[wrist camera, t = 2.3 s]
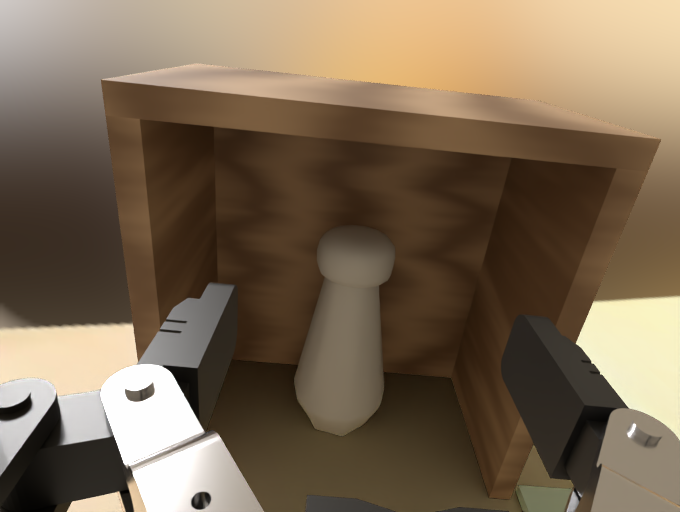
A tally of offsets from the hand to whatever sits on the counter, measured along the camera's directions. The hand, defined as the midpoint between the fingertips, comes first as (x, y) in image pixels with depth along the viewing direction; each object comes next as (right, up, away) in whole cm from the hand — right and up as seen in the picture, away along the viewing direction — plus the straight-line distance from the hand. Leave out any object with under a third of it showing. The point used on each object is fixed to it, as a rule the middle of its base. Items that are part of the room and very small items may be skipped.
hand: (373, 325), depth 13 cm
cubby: (-1, -8, +17) cm, 19 cm away
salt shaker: (-1, -9, +17) cm, 19 cm away
